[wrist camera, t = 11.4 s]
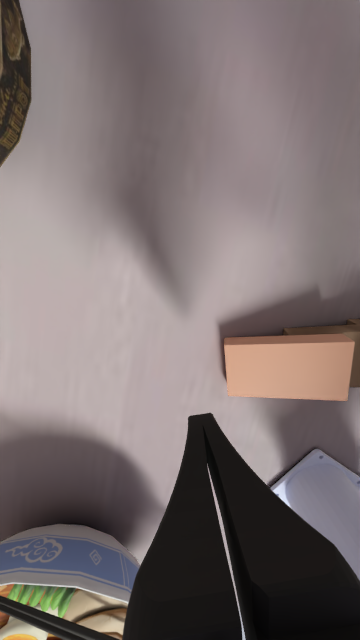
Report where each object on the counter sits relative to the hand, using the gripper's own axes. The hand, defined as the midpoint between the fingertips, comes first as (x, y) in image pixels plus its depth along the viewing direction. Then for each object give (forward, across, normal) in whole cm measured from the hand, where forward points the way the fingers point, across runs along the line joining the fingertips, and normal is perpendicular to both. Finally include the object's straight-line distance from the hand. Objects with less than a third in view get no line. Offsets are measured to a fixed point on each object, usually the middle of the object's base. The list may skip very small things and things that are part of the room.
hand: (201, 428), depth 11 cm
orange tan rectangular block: (+6, -3, 0) cm, 7 cm away
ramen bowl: (+7, +17, +22) cm, 29 cm away
